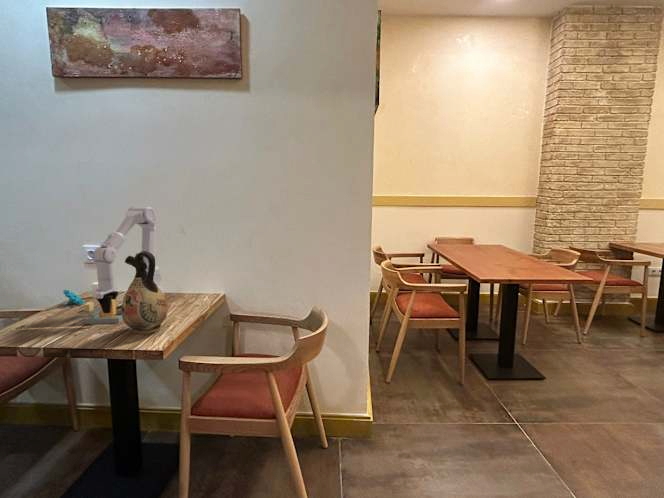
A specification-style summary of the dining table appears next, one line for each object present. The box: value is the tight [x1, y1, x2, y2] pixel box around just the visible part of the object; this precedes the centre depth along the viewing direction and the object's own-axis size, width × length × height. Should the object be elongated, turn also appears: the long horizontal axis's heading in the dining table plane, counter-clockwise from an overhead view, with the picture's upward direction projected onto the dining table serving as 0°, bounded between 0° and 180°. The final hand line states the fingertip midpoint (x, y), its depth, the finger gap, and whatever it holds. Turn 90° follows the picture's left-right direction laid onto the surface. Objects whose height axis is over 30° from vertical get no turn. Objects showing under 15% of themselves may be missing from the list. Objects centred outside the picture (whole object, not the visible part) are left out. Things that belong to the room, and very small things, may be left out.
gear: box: [62, 289, 85, 306], centre depth 178 cm, size 11×6×10 cm
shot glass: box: [90, 281, 98, 299], centre depth 193 cm, size 7×7×7 cm
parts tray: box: [85, 308, 124, 327], centre depth 159 cm, size 12×12×2 cm
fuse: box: [99, 299, 117, 317], centre depth 159 cm, size 4×3×6 cm, turn 97°
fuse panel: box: [77, 301, 119, 315], centre depth 170 cm, size 12×10×4 cm
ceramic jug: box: [121, 250, 169, 335], centre depth 146 cm, size 17×15×30 cm
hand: (108, 311), depth 159 cm, fingers closed on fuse, 3 cm apart
